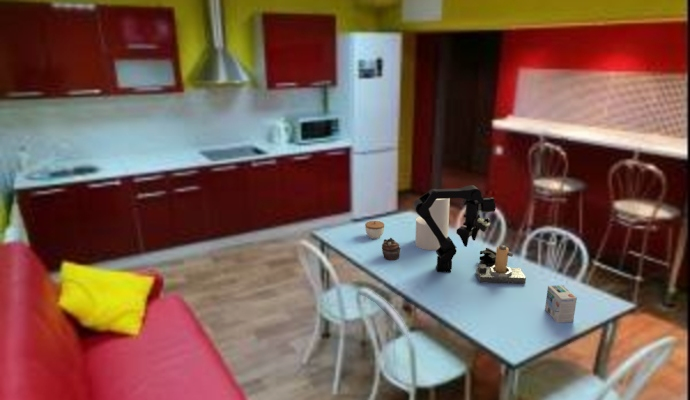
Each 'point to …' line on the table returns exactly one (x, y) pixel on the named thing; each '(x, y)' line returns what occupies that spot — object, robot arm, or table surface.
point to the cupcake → (390, 249)
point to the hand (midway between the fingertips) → (469, 243)
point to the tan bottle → (502, 259)
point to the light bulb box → (560, 303)
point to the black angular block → (488, 257)
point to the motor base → (500, 275)
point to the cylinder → (441, 218)
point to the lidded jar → (374, 229)
